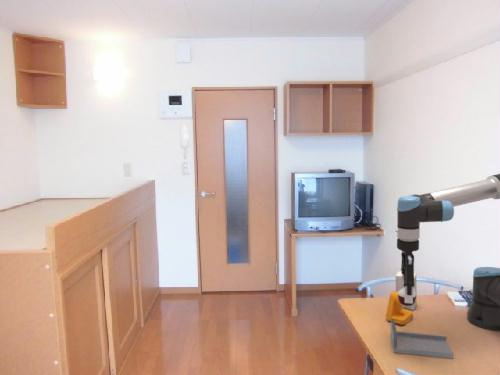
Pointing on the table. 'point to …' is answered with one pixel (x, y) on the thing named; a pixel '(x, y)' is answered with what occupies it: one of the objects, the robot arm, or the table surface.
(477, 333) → the table surface
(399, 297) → the cocoa
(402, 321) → the bracket
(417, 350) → the grey dustpan
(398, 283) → the skincare box
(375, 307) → the table surface
